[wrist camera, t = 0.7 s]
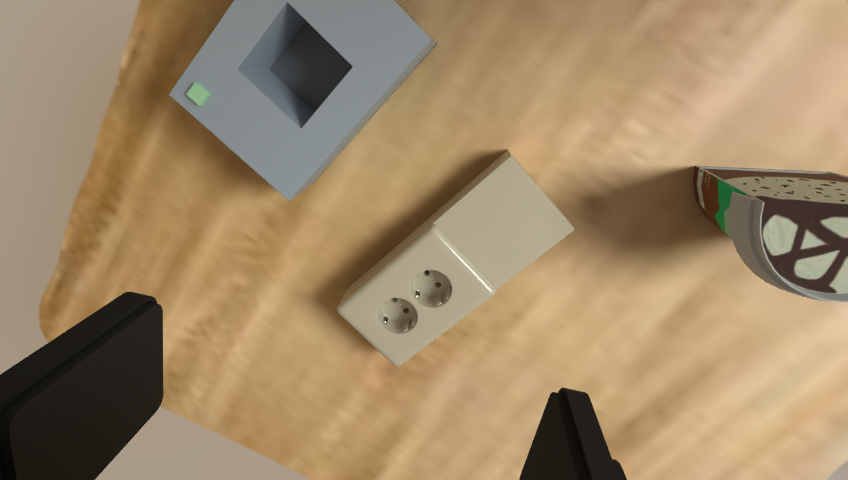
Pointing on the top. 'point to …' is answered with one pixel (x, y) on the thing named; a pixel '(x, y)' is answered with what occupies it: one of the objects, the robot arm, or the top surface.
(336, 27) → the port block
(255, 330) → the top surface
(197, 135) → the top surface
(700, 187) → the food container
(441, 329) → the electrical outlet
